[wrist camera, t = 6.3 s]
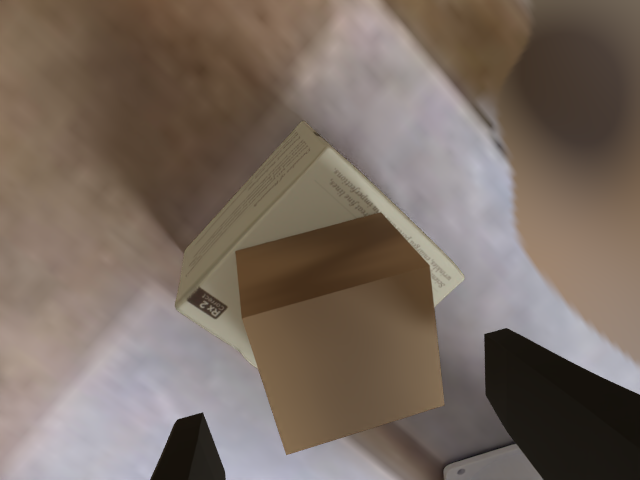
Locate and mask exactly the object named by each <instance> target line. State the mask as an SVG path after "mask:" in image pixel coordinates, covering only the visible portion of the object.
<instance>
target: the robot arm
mask: <svg viewBox="0 0 640 480" xmlns="http://www.w3.org/2000/svg"><path fill="white" fill-rule="evenodd" d="M484 341H485V386H486V396H487V398H488V400H489V402H490V403H491V405H492V407H493V409H494V410H495V412H496V414H497V416H498V417H499V419H500V421H501V422H502V424H503V426H504V427H505V429H506V431H507V432H508V433H509V435H510V436H511V437H512V439H513V440H514V441H515V443H516V444H513V445H510V446H506V447H503V448H500V449H497V450H494V451H490V452H487V453H484V454H481V455H477V456H474V457H471V458H468V459H464V460H461V461H458V462H455V463H451V464H449V465H447V466H446V467H445V468H444V471H443V474H444V480H640V395H639V394H637V393H635V392H632V391H630V390H628V389H626V388H624V387H621V386H619V385H617V384H615V383H613V382H610V381H608V380H606V379H604V378H602V377H600V376H598V375H596V374H594V373H592V372H590V371H588V370H586V369H584V368H582V367H580V366H578V365H576V364H574V363H572V362H570V361H568V360H566V359H564V358H562V357H560V356H558V355H557V354H555V353H553V352H551V351H549V350H547V349H545V348H543V347H542V346H540V345H538V344H536V343H534V342H532V341H530V340H529V339H527V338H525V337H523V336H521V335H519V334H517V333H515V332H513V331H511V330H509V329H507V328H505V329H502V330H498V331H494V332H491V333H487V334H484ZM150 480H226V478H225V470H224V468H223V465H222V462H221V460H220V457H219V454H218V452H217V449H216V446H215V444H214V441H213V438H212V435H211V433H210V430H209V427H208V425H207V422H206V419H205V417H204V414H203V413H199V414H196V415H192V416H188V417H185V418H181V419H178V420H177V421H176V422H175V424H174V426H173V428H172V431H171V433H170V436H169V438H168V440H167V443H166V445H165V448H164V450H163V452H162V455H161V457H160V459H159V461H158V464H157V466H156V468H155V470H154V473H153V475H152V477H151V479H150Z"/></svg>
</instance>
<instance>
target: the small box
mask: <svg viewBox="0 0 640 480" xmlns="http://www.w3.org/2000/svg"><path fill="white" fill-rule="evenodd" d="M380 212H381V213H382V214H383V215H384V216H385V217H386V218H387V219H388V220H389V221H390V222H391V224H392V225H393V226H394V227H395V228H396V229H397V230H398V231H399V232H400V233H401V235H402V236H403V237H404V238H405V239H406V240H407V241H408V242H409V243H410V244H411V245H412V247H413V248H414V249H415V250H416V251H417V252H418V253H419V254H420V255H421V256H422V258H423V259H424V260H425V261H426V262H427V263H428V264H429V265H430V273H431V282H432V292H433V301H434V307H435V306H436V305H437V304H438V303H439V302H440V301H441V300H442V299H444V298H445V297H446V296H447V295H448V294H449V293H450V292H451V291H452V290H453V289H454V288H455V287H456V286H457V285H459V284H460V283H461V282H462V281H463V280H464V275H463V274H462V272H461V271H460V270H459V268H458V267H457V266H456V265H455V264H454V262H453V261H452V260H451V259H450V258H449V257H448V256H447V255H446V254H445V253H444V252H443V251H442V250H441V249H440V248H439V247H438V246H437V245H436V244H435V243H434V242H433V241H432V240H431V239H430V238H429V237H428V236H427V235H426V234H425V233H424V232H422V231H421V230H420V229H419V228H418V227H417V226H416V225H415V224H414V223H413V222H412V221H411V220H410V219H409V218H408V217H407V216H406V215H405V214H404V213H403V212H402V211H401V210H400V209H399V208H398V207H397V206H396V205H395V204H394V203H393V202H392V201H390V200H389V199H388V198H387V197H386V196H385V195H384V194H383V193H382V192H381V191H380V190H379V189H378V188H377V187H376V186H375V185H374V184H373V183H371V182H370V181H369V180H368V179H367V178H366V177H365V176H364V175H363V174H362V173H361V172H360V171H359V170H357V169H356V168H355V167H354V166H353V165H352V164H351V163H350V162H349V161H347V160H346V159H345V158H344V157H343V156H342V155H341V154H339V153H338V152H337V151H336V150H335V149H334V148H333V147H332V146H331V145H330V144H329V143H327V142H326V141H325V140H324V139H323V138H322V137H321V136H320V135H319V134H318V133H317V132H315V131H314V130H313V129H312V128H311V127H310V126H309V125H308V124H307V123H306V122H305V121H302V122H300V123H299V125H298V126H297V127H296V128H295V129H294V130H293V131H292V133H291V134H290V135H289V136H288V137H287V138H286V139H285V140H284V141H283V142H282V143H281V145H280V146H279V147H278V148H277V149H276V150H275V151H274V152H273V153H272V154H271V156H270V157H269V158H268V159H267V160H266V161H265V162H264V163H263V164H262V165H261V167H260V168H259V169H258V170H257V171H256V172H255V173H254V174H253V175H252V176H251V178H250V179H249V180H248V181H247V182H246V183H245V184H244V185H243V186H242V187H241V189H240V190H239V191H238V192H237V193H236V194H235V195H234V196H233V197H232V199H231V200H230V201H229V202H228V203H227V204H226V205H225V206H224V207H223V208H222V210H221V211H220V212H219V213H218V214H217V215H216V216H215V217H214V218H213V220H212V221H211V222H210V223H209V224H208V225H207V226H206V227H205V228H204V230H203V231H202V232H201V233H200V234H199V235H198V236H197V237H196V238H195V239H194V241H193V242H192V243H191V244H190V245H189V246H188V247H187V248H186V250H185V252H184V258H183V264H182V271H181V277H180V283H179V288H178V293H177V298H176V302H175V307H176V310H177V311H178V312H180V313H181V314H183V315H184V316H186V317H187V318H189V319H190V320H192V321H193V322H195V323H196V324H198V325H199V326H201V327H202V328H204V329H205V330H207V331H208V332H210V333H212V334H213V335H215V336H216V337H218V338H219V339H221V340H222V341H224V342H226V343H227V344H229V345H230V346H232V347H233V348H235V349H236V350H238V351H239V352H240V353H241V354H242V355H243V357H244V358H245V359H246V360H247V361H248V362H249V363H250V364H251V365H253V366H254V367H256V368H258V367H257V364H256V361H255V358H254V355H253V351H252V348H251V345H250V342H249V339H248V336H247V333H246V330H245V327H244V324H243V321H242V316H241V306H240V295H239V285H238V274H237V264H236V254H235V251H237V250H241V249H245V248H249V247H252V246H256V245H260V244H264V243H267V242H271V241H275V240H279V239H282V238H286V237H290V236H294V235H297V234H301V233H305V232H309V231H312V230H316V229H320V228H324V227H327V226H331V225H335V224H338V223H342V222H346V221H350V220H353V219H357V218H361V217H365V216H368V215H372V214H376V213H380Z"/></svg>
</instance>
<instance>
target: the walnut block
mask: <svg viewBox="0 0 640 480" xmlns="http://www.w3.org/2000/svg"><path fill="white" fill-rule="evenodd" d="M235 254H236V264H237V274H238V285H239V295H240V306H241V316H242V321H243V324H244V327H245V330H246V333H247V336H248V339H249V342H250V345H251V348H252V351H253V355H254V358H255V361H256V364H257V367H258V370H259V373H260V376H261V379H262V382H263V385H264V388H265V391H266V394H267V397H268V400H269V403H270V407H271V410H272V413H273V416H274V419H275V422H276V425H277V428H278V431H279V434H280V437H281V440H282V443H283V446H284V449H285V452H286V455H288V454H291V453H295V452H298V451H301V450H304V449H307V448H311V447H314V446H317V445H320V444H323V443H326V442H330V441H333V440H336V439H339V438H342V437H346V436H349V435H352V434H355V433H358V432H361V431H365V430H368V429H371V428H374V427H377V426H380V425H384V424H387V423H390V422H393V421H396V420H400V419H403V418H406V417H409V416H412V415H415V414H419V413H422V412H425V411H428V410H431V409H435V408H438V407H441V406H444V396H443V386H442V377H441V367H440V358H439V348H438V339H437V329H436V320H435V310H434V301H433V292H432V282H431V273H430V265H429V264H428V263H427V262H426V261H425V260H424V259H423V258H422V256H421V255H420V254H419V253H418V252H417V251H416V250H415V249H414V248H413V247H412V245H411V244H410V243H409V242H408V241H407V240H406V239H405V238H404V237H403V236H402V235H401V233H400V232H399V231H398V230H397V229H396V228H395V227H394V226H393V225H392V224H391V222H390V221H389V220H388V219H387V218H386V217H385V216H384V215H383V214H382V213H381V212H380V213H376V214H372V215H368V216H365V217H361V218H357V219H353V220H350V221H346V222H342V223H338V224H335V225H331V226H327V227H324V228H320V229H316V230H312V231H309V232H305V233H301V234H297V235H294V236H290V237H286V238H282V239H279V240H275V241H271V242H267V243H264V244H260V245H256V246H252V247H249V248H245V249H241V250H237V251H235Z"/></svg>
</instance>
